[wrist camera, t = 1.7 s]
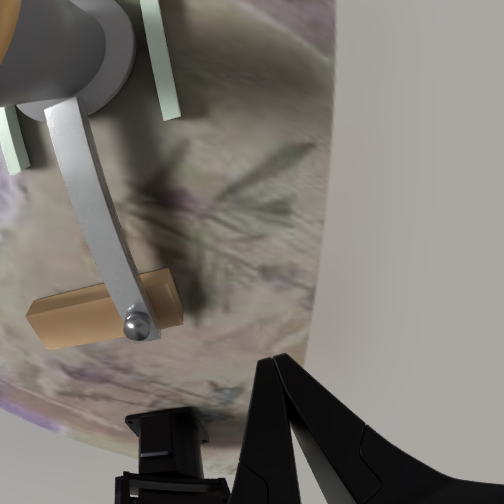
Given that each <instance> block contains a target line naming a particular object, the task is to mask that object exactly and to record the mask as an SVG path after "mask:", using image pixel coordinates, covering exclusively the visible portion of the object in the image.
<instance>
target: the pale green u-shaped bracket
mask: <svg viewBox="0 0 504 504" xmlns="http://www.w3.org/2000/svg"><path fill="white" fill-rule="evenodd" d="M140 4H141V10H142V16H143V21H144V27H145V32H146V38H147V43H148V48H149V53H150V58H151V63H152V68H153V73H154V78H155V83H156V88H157V92H158V97H159V101H160V106H161V111H162V115H163V119H164V121H166V120H169V119H173V118H177V117H181V111H180V107H179V102H178V97H177V92H176V88H175V83H174V78H173V73H172V68H171V63H170V58H169V53H168V48H167V43H166V37H165V32H164V27H163V21H162V16H161V10H160V5H159V0H140ZM0 143H1V147H2V150H3V154H4V157H5V161H6V164H7V167H8V170H9V173H10V176H12V175H14V174H16V173H18V172H21V171H22V170H24V169H26V168H27V167H29V166H31V165H30V162H29V159H28V155H27V152H26V148H25V145H24V141H23V137H22V134H21V130H20V126H19V122H18V118H17V113H16V109H15V105H12V106H7V107H2V108H0Z"/></svg>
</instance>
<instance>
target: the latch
mask: <svg viewBox="0 0 504 504" xmlns="http://www.w3.org/2000/svg"><path fill="white" fill-rule="evenodd" d="M44 112H45V116H46V120H47V124H48V128H49V132H50V136H51V139H52V143H53V146H54V150H55V153H56V157H57V160H58V163H59V167H60V170H61V173H62V176H63V179H64V182H65V185H66V188H67V191H68V194H69V197H70V200H71V203H72V205H73V208H74V211H75V214H76V216H77V219H78V222H79V224H80V227H81V229H82V232H83V235H84V237H85V240H86V242H87V244H88V247H89V249H90V252H91V254H92V256H93V259H94V261H95V263H96V266H97V268H98V270H99V272H100V275H101V277H102V279H103V281H104V283H105V286H106V288H107V290H108V292H109V294H110V296H111V298H112V300H113V302H114V304H115V306H116V309H117V311H118V313H119V315H120V316H121V318H122V320H123V322H124V328H123V332H124V334H125V335H126V337H128V338H129V339H131V340H133V341H134V343H141V342H146V341H151V340H156V339H161V325H160V323H159V320H158V318H157V316H156V314H155V311H154V309H153V307H152V304H151V302H150V300H149V297H148V295H147V293H146V290H145V288H144V285H143V283H142V280H141V278H140V275H139V273H138V270H137V268H136V265H135V263H134V260H133V258H132V255H131V252H130V250H129V247H128V244H127V242H126V239H125V236H124V233H123V231H122V228H121V225H120V222H119V219H118V216H117V213H116V210H115V208H114V205H113V202H112V198H111V195H110V192H109V189H108V186H107V183H106V180H105V176H104V173H103V170H102V166H101V163H100V159H99V156H98V152H97V149H96V145H95V142H94V138H93V134H92V130H91V126H90V123H89V119H88V114H87V110H86V106H85V102H84V97H83V96H76V97H73V98H71V99H68V100H66V101H64V102H61V103H59V104H57V105H54V106H52V107H50V108H47V109H45V110H44Z"/></svg>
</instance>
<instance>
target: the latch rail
mask: <svg viewBox="0 0 504 504" xmlns="http://www.w3.org/2000/svg"><path fill="white" fill-rule="evenodd" d="M140 278H141V280H142V283H143V285H144V288H145V290H146V293H147V295H148V297H149V300H150V302H151V304H152V307H153V309H154V311H155V314H156V316H157V318H158V320H159V323H160V325H161V329H164V328H169V327H173V326H178V325H183V306H182V303H181V300H180V298H179V295H178V292H177V290H176V287H175V284H174V281H173V278H172V275H171V273H170V270H169V268H165V269H161V270H157V271H153V272H148V273H144V274H140ZM26 318H27V320H28V321H29V323H30V325H31V326H32V328H33V329H34V331H35V332H36V334H37V335H38V337H39V338H40V340H41V341H42V343H43V344H44V346H45V347H46V349H47V350H52V349H58V348H64V347H70V346H76V345H82V344H87V343H93V342H98V341H104V340H109V339H114V338H120V337H125V336H126V335H125V334H124V332H123V328H124V322H123V320H122V318H121V316H120V315H119V313H118V311H117V309H116V306H115V304H114V302H113V300H112V298H111V296H110V294H109V292H108V290H107V288H106V286H105V283H103V284H99V285H95V286H91V287H87V288H83V289H79V290H75V291H71V292H67V293H63V294H59V295H55V296H51V297H46V298H42V299H38V300H34V301H33V303H32V305H31V307H30V309H29V310H28V312H27V314H26Z"/></svg>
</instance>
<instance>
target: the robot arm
mask: <svg viewBox="0 0 504 504" xmlns="http://www.w3.org/2000/svg"><path fill="white" fill-rule="evenodd" d="M289 422H290V424H289ZM125 423H126V424H127V425H128V426H129V427H130V429H131V430H132V431H133V432H134V433H135V434H136V435H137V436H138V437H139V474H135V473H130V472H127V471H124V472H123V476H120V477H116V478H115V504H302V503H301V496H300V490H299V483H298V476H297V470H296V463H295V456H294V449H293V443H292V436H291V430H290V425H291V427H292V429H293V431H294V434H295V436H296V438H297V440H298V442H299V445H300V447H301V449H302V451H303V453H304V455H305V457H306V459H307V462H308V463H309V466H310V468H311V470H312V472H313V474H314V476H315V478H316V480H317V482H318V484H319V487H320V489H321V491H322V493H323V495H324V497H325V499H326V501H327V503H328V504H504V485H503V484H492V483H483V482H475V481H468V480H461V479H456V478H452V477H449V476H447V475H445V474H442V473H440V472H438V471H436V470H435V469H432V468H431V467H429V466H427V465H426V464H424V463H422V462H421V461H419V460H417V459H416V458H414V457H412V456H410V455H409V454H407V453H405V452H404V451H402V450H401V449H399V448H398V447H396V446H394V445H393V444H391V443H390V442H389V441H387V440H386V439H385V438H383V437H382V436H381V435H380V434H378V433H377V432H376V431H374V430H373V429H372V428H371V427H370V426H369V425H365V422H364V421H363V420H361V419H360V418H359V417H358V416H357V415H356V414H354V413H353V412H352V411H351V410H350V409H349V408H347V407H346V406H345V405H344V404H343V403H341V402H340V401H339V400H338V399H337V398H336V397H335V396H333V395H332V394H331V393H330V392H329V391H328V390H327V389H326V388H324V387H323V386H322V385H321V384H320V383H319V382H317V380H316V379H314V378H313V377H312V376H311V375H310V374H309V373H308V372H307V371H306V370H304V369H303V368H302V367H301V366H300V365H299V364H298V363H297V362H296V361H295V360H293V359H292V358H291V357H290V356H289V355H288V354H286V353H283V354H279V355H276V356H273V358H271V357H268V358H264V359H260V360H258V362H257V367H256V372H255V378H254V383H253V389H252V394H251V400H250V405H249V411H248V416H247V421H246V427H245V432H244V437H243V442H242V447H241V453H240V458H239V461H240V462H239V463H238V467H237V472H236V476H235V481H234V485H233V489H232V493H230V490H229V487H228V485H227V482H226V479H225V478H218V479H204V473H203V465H202V457H201V449H200V444H205V443H208V442H209V437H208V435H207V433H206V432H205V430H204V429H203V427H202V425H201V424H200V422H199V420H198V419H197V417H196V415H195V414H194V412H193V410H192V409H190V408H182V409H176V410H170V411H163V412H156V413H149V414H141V415H133V416H126V417H125ZM130 494H131V495H138V497H130Z"/></svg>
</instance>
